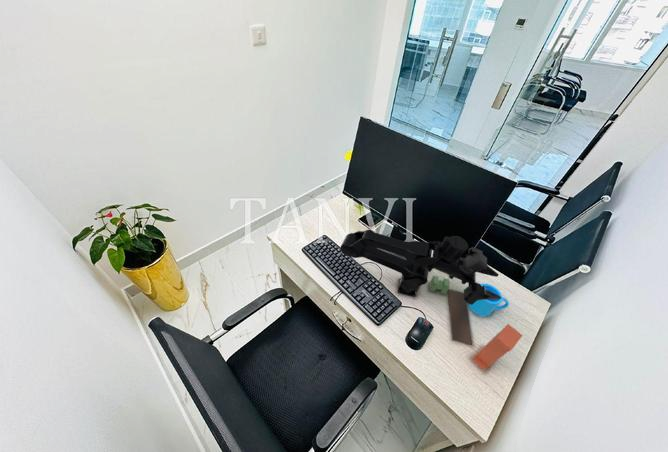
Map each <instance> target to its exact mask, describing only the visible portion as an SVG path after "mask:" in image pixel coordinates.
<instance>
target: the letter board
mask: <svg viewBox="0 0 668 452" xmlns="http://www.w3.org/2000/svg"><path fill="white" fill-rule="evenodd" d="M447 295H448V306H449V317H450V328H451V329H450V330H451V340H452V341H455V342H459V343H463V344H466V345H470V346H472V345H473V339H472V332H471V331H472V330H471V325H470V319H469V318H470V317H469V310H468V303H466V302H465V301H464V292H461V291H457V290H452V289H448V291H447Z"/></svg>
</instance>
